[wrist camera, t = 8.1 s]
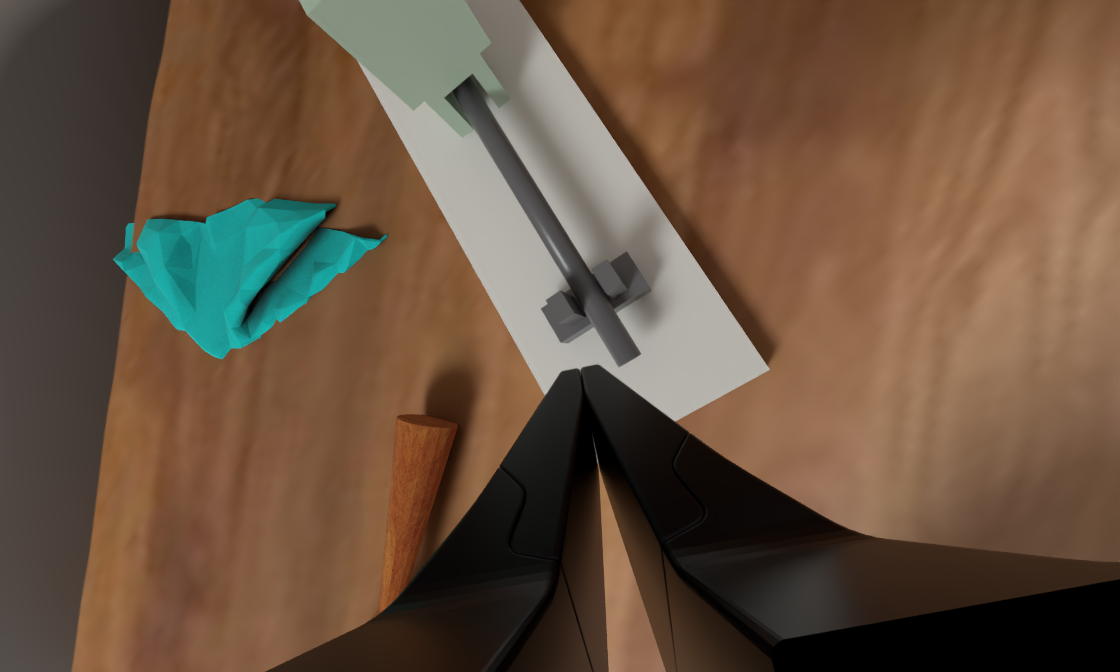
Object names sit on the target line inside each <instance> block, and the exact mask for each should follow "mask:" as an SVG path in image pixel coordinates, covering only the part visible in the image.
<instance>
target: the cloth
mask: <svg viewBox="0 0 1120 672" xmlns="http://www.w3.org/2000/svg"><path fill="white" fill-rule="evenodd" d="M334 207H336V204H327V203H320V204H316V203H306V202H298V201H289V200H281V199H274V200H271V201H269V202H267V203H266V202H264V201H262V200H260V199H250V200H246V201H244V202H242V203H240V204H238V205H236V206H234V207H232V208H230V209H227V210H225V211H222V212H220V213H217V214H215V215H212V216H209V217H207V218H206V223H201V222H192V221H181V220H170V219H148V220H147V222H146V224H145V226H144V228H143V231H142V233H141V235H140V237H139V239H138V242H137V244H136V245H137V247H138V249H139V251H140V253H141V254H140V253H138V252H134V253H131V248H132V238H133V228H134V223H128V225H127V227H126V235H125V249H123V250H122V251H121V252H120V253H119V254H118V255H117V256H116V257H115V258H114V259H113V260H114V261H115V262H116V263H117V264H118V265H119V266H120V267H121V268H122V269H123V270H124V271H125V273H126V274H127V275H128V276H129V277H130V278H131V279H132V280H133V281H134V282H135V283H136V284H137V285H138V286H139V287H140V289H141V290H142V292H143V293H144V295H145V296H146V297H147V298H148V299H149V300H150V301H151V302H152V303H153V304H155V305H156V306H157V307H158V308H159V309H161V310H162V311H163V312H164V314H165V315H166V316H167V318H168V319H169V320H170V322H171V323H172V324H173V325H174V327H175V328H177V329H178V330H185V331H186V332H187V333H188V334H189V335H190V336H191V337H192V338H193V339H194V341H195V342H196V343H197V344H198V345H199V346H200V347H201V348H202V349H203V350H204V351H206V352H207V353H209V354H210V355H212V356H214V357H217V358H220V359H223V358H224V356H225V355H226V354H227V353H228V352H229V350H230V349H231V348H242V347H244V346H246V345H248V344H249V343H251V342H253V341H255V340H256V339H258V338H260V337H261V335H262V334H263V333H264V332H266V331H267V330H268V329H270V328H271V327H272V326H273V324H274V322H275V320H276V319H277V320H278V321H280V322H282V321H283V320H284V319H285V318H287V317H288V316H289V315H290V314H291V313H293V312H294V311H295V310H296V309H298V308H299V307H300V306H302V305H304V304H305V303H307V302H308V300H309V299H310V297H311V296H312V295H314V294H315V293H317V292H319V291H321V290H323V289H324V288H325V287H326V285H327V284H328V283H329V282H330V281H331V280H332V279H333V278H334V277H335V276H336V275H337V274H338V273H344V272H346V271H347V270H348V269H349V268H350V267H351V266H352V265H354V264H355V263H356V262H357V261H358V260H359V259H360V258H361V257H362V256H363V255H364V253H365V252H366V251H367V250H371V249H374V248H376V247H377V246H378V245H379V244H380V243H381V242H382V241H383V240H384V239H385V238H386V237H387V236H388V233H387V234H386V235H385V236H384V237H382V238H381V239H380V240H376V239H368V238H362V237H358V236H355V235H352V234H349V233H346V232H342V231H336V230H331V229H325V228H319V227H318V228H317V230H316V232H315V233H314V235H313V236H312V238H311V239H310V241H309V242H308V243H307V245H306V246H305V248H304V249H303V250H302V251H301V252H300V253H299V255H298V256H297V257H296V258H295V259H294V260H293V261H292V263H291V264H290V265H289V266H288V267H287V268H286V269H285V271H284V272H283V273H282V274H281V275H280V276H279V278H278V279H277V280H276V281H271V282H269V281H270V280H271V279H272V278H273V277H274V276H275V275H276V274H277V273H278V272H279V270H280V269H281V268H282V267H283V265H284V264H285V263H286V261H287V260H288V259H289V258H290V256H291V255H292V254H293V252H294V251H295V250H296V249H297V248H298V247H299V246H300V244H301V243H302V242H303V241H304V240H305V239H306V238H307V237H308V236H309V235H310V234H311V233H312V232H313V230H314V229H315V228H316V227H317V226H318V225H319V224H320V223H321V222H322V221H323V220H324V219H325V213H326V212H327V211H328V210H330V209H332V208H334ZM264 285H265V286H264ZM263 286H264V289H263V291H262V293H261V295H260V298H259V299H258V300H257V302H256V303H255V304H254V305H253V301H254V298H255V296H256V294H257V293H258V291H259V290H260V289H261V288H262V287H263ZM252 305H253V306H252Z"/></svg>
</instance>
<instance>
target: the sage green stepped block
mask: <svg viewBox="0 0 1120 672" xmlns="http://www.w3.org/2000/svg"><path fill="white" fill-rule="evenodd" d="M299 1H300V3H301V5H302V7H303V9H304V10H305V12H306V14H307V16H309V17H310V18H311V19H312V20H313V21H314V22H315V23H316V24H317V25H319V26H320V27H321V28H322V29H323V30H324V31H325V32H326V33H327V34H329V35H330V36H331V37H332V38H333V39H334V40H335V41H336V42H337V43H339V44H340V45H341V46H342V47H343V48H344V49H345V50H346V51H348V52H349V53H350V54H351V55H352V56H353V57H354V58H355V59H356V60H358V61H359V62H360V63H361V64H362V65H363V66H364V67H365V68H366V69H368V70H369V71H370V72H371V73H372V74H373V75H374V76H375V77H376V78H378V79H379V80H380V81H381V82H382V83H383V84H384V85H385V86H387V87H388V88H389V89H390V90H391V91H392V92H393V93H394V94H395V95H397V96H398V97H399V98H400V99H401V100H402V101H403V102H404V103H405V104H407V105H408V106H409V107H410V108H411V109H412V110H413V111H414V110H415V109H416V108H417V107H419V106H420V105H421V104H422V103H423V102H424V101H425V102H426V103H427V104H428V105H429V106H430V107H431V108H432V109H433V110H434V111H435V112H436V113H437V114H438V115H439V116H440V117H441V118H442V119H443V120H444V121H445V122H446V123H447V124H448V125H449V126H450V127H451V128H452V129H453V130H454V131H455V132H456V133H458V134H459V135H460V136H461V137H462V138H463V137H464V136H465V135H467V134H468V133H469V132H470V131H472V130H473V128H472V126H471V124H470V123H469V121H468V119H467V118H466V116H465V115H464V113H463V111H462V110H461V108H460V106H459V105H458V103H457V101H456V100H455V98H454V96H453V95H452V93H451V91H453V90H454V89H455V88H456V87H457V86H458V85H460V84H461V83H462V82H463V81H464V80H465V79H467V78H468V77H469V76H470V75H471V74H472V73H473V75H474V76H475V77H476V79H477V80H478V81H479V83H480V84H481V85H482V87H483V88H484V89H485V91H486V92H487V93H488V95H489V96H490V97H491V99H492V100H493V101H494V103H495V104H496V105H497V107H498V108H500V107H501V106H502V105H503V104H505V103H506V102H507V101H508V100H509V99H510V97H509V96H508V94H507V93H506V91H505V90H504V88H503V86H502V85H501V83H500V82H499V80H498V79H497V77H496V75H495V74H494V72H493V71H492V69H491V68H490V66H489V64H488V63H487V61H486V60H485V58H484V57H483V55H482V53H481V52H482V51H483V50H484V49H486V48H487V47H488V46H489V45H490V44H491V42H490V40H489V38H488V37H487V35H486V34H485V32H484V30H483V29H482V27H481V26H480V24H479V22H478V21H477V19H476V17H475V16H474V14H473V13H472V11H471V9H470V8H469V6H468V5H467V3H466V1H465V0H299Z"/></svg>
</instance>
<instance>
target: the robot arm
mask: <svg viewBox="0 0 1120 672" xmlns="http://www.w3.org/2000/svg"><path fill="white" fill-rule="evenodd" d="M580 371H581V372H580ZM595 450H596V451H595ZM596 455H597V456H596ZM597 460H598V462H597ZM598 464H599V468H600V472H601V475H602V479H603V482H604V485H605V488H606V491H607V494H608V497H609V500H610V503H611V506H612V509H613V512H614V515H615V518H616V521H617V524H618V527H619V530H620V533H621V536H622V539H623V542H624V545H625V548H626V551H627V554H628V557H629V561H630V564H631V567H632V570H633V573H634V576H635V579H636V582H637V585H638V588H639V591H640V594H641V597H642V600H643V603H644V606H645V609H646V612H647V615H648V618H649V621H650V624H651V627H652V630H653V633H654V636H655V639H656V642H657V646H658V649H659V652H660V655H661V658H662V661H663V664H664V667H665V670H666V672H1120V562H1097V561H1085V560H1072V559H1062V558H1053V557H1044V556H1035V555H1026V554H1017V553H1008V552H999V551H990V550H981V549H972V548H963V547H954V546H945V545H936V544H927V543H918V542H909V541H900V540H891V539H883V538H877V537H873V536H869V535H865V534H862V533H859V532H856V531H853V530H850V529H848V528H846V527H844V526H841V525H839V524H837V523H835V522H833V521H831V520H829V519H828V518H826V517H824V516H822V515H820V514H819V513H817V512H815V511H813V510H812V509H810V508H808V507H807V506H805V505H803V504H802V503H800V502H798V501H796V500H795V499H793V498H791V497H790V496H788V495H786V494H784V493H783V492H781V491H779V490H778V489H776V488H774V487H773V486H771V485H769V484H767V483H766V482H764V481H762V480H761V479H759V478H757V477H755V476H754V475H752V474H750V473H749V472H747V471H746V470H744V469H742V468H741V467H739V466H737V465H736V464H734V463H733V462H731V461H729V460H728V459H726V458H725V457H723V456H722V455H720V454H719V453H718V452H716V451H715V450H713V449H712V448H710V447H709V446H708V445H706V444H705V443H703V442H702V441H701V440H699V439H698V438H697V437H695V436H694V435H693V434H689V432H688V431H687V430H686V429H684V428H683V427H682V426H680V425H679V424H678V423H676V422H675V421H674V420H672V419H671V418H670V417H668V416H667V415H666V414H664V413H663V412H662V411H660V410H659V409H658V408H656V407H655V406H654V405H652V404H651V403H650V402H648V401H647V400H646V399H644V398H643V397H642V396H640V395H639V394H638V393H636V392H635V391H634V390H632V389H631V388H630V387H628V386H627V385H626V384H624V383H623V382H622V381H620V380H619V379H618V378H616V377H615V376H614V375H612V374H611V373H610V372H608V371H607V370H606V369H604V368H603V367H602V366H600V365H598V364H596V365H590V366H585V367H582V368H581V370H579V369H578V368H575V369H569V370H564V371H561V372H560V373H559V375H558V376H557V378H556V380H555V381H554V383H553V384H552V386H551V387H550V389H549V390H548V392H547V393H546V395H545V397H544V398H543V400H542V401H541V403H540V404H539V406H538V407H537V409H536V410H535V412H534V414H533V415H532V417H531V418H530V420H529V421H528V423H527V424H526V426H525V427H524V429H523V431H522V432H521V434H520V435H519V437H518V438H517V440H516V441H515V443H514V444H513V446H512V447H511V449H510V451H509V452H508V454H507V455H506V457H505V458H504V460H503V461H502V463H501V464H500V468H498V469H497V470H496V472H495V473H494V475H493V477H492V478H491V480H490V481H489V483H488V484H487V485H486V487H485V488H484V490H483V491H482V493H481V494H480V496H479V497H478V498H477V500H476V501H475V503H474V504H473V505H472V507H471V508H470V509H469V510H468V512H467V513H466V514H465V516H464V517H463V518H462V519H461V521H460V522H459V523H458V525H457V526H456V527H455V528H454V530H453V531H452V532H451V533H450V534H449V536H448V537H447V538H446V539H445V541H444V542H443V543H442V544H441V545H440V547H439V548H438V549H437V550H436V552H435V553H434V554H433V555H432V556H431V558H430V559H429V560H428V561H427V563H426V564H425V565H424V566H423V567H422V569H421V570H420V571H419V572H418V573H417V575H416V576H415V577H414V578H413V580H412V581H411V582H410V583H409V584H408V586H407V587H406V588H405V589H404V590H403V591H402V593H401V594H400V595H399V596H398V597H397V598H396V599H395V600H394V601H393V602H392V603H391V604H390V605H389V606H388V607H387V608H386V609H384V610H383V611H382V612H381V613H380V614H378V615H377V616H376V617H374V618H373V619H371V620H370V621H368V622H367V623H365V624H363V625H361V626H360V627H358V628H356V629H354V630H352V631H349V632H347V633H345V634H343V635H341V636H339V637H337V638H335V639H333V640H331V641H329V642H326V643H324V644H322V645H320V646H318V647H316V648H314V649H312V650H310V651H308V652H305V653H303V654H301V655H299V656H297V657H295V658H293V659H291V660H289V661H287V662H285V663H282V664H280V665H278V666H276V667H274V668H272V669H270V670H268V671H266V672H609V671H608V650H607V629H606V609H605V588H604V567H603V547H602V526H601V505H600V485H599V470H598Z"/></svg>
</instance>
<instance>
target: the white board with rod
mask: <svg viewBox="0 0 1120 672" xmlns="http://www.w3.org/2000/svg"><path fill="white" fill-rule="evenodd" d="M465 1H466V3H467V5H468V6H469V8H470V9H471V11H472V13H473V14H474V16H475V17H476V19H477V21H478V22H479V24H480V26H481V27H482V29H483V30H484V32H485V34H486V35H487V37H488V38H489V40H490V42H491V44H490V45H489V46H488V47H487V48H486V49H484V50H483V51H482V52H481V53H482V55H483V57H484V58H485V60H486V61H487V63H488V64H489V66H490V68H491V69H492V71H493V72H494V74H495V75H496V77H497V79H498V80H499V82H500V83H501V85H502V86H503V88H504V90H505V91H506V93H507V94H508V96H509V97H510V99H509V100H508V101H507V102H506V103H505V104H503V105H502V106H501V107H500V108H498V107H497V105H496V104H495V103H494V101H493V100H492V99H491V97H490V96H489V95H488V93H487V92H486V91H485V89H484V88H483V87H482V85H481V84H480V83H479V81H478V80H477V79H476V77H475V76H474V75H473V73H472V74H471V75H470V76H469V77H468V78H467V79H465V80H464V81H463V82H462V83H461V84H460V85H458V86H457V87H456V88H455V89H454V90H453V91H451V93H452V95H453V96H454V98H455V100H456V101H457V103H458V105H459V106H460V108H461V110H462V111H463V113H464V115H465V116H466V118H467V119H468V121H469V123H470V124H471V126H472V128H473V130H472V131H470V132H469V133H468V134H467V135H465V136H464V137H463V138H462V137H461V136H460V135H459V134H458V133H456V132H455V131H454V130H453V129H452V128H451V127H450V126H449V125H448V124H447V123H446V122H445V121H444V120H443V119H442V118H441V117H440V116H439V115H438V114H437V113H436V112H435V111H434V110H433V109H432V108H431V107H430V106H429V105H428V104H427V103H426V102H425V101H424V102H423V103H422V104H421V105H420V106H419V107H417V108H416V109H415V110H414V111H413V110H412V109H411V108H410V107H409V106H408V105H407V104H405V103H404V102H403V101H402V100H401V99H400V98H399V97H398V96H397V95H395V94H394V93H393V92H392V91H391V90H390V89H389V88H388V87H387V86H385V85H384V84H383V83H382V82H381V81H380V80H379V79H378V78H376V77H375V76H374V75H373V74H372V73H371V72H370V71H369V70H368V69H366V68H365V67H364V66H363V65H362V64H361V63H360V62H359V61H358V60H357V61H358V63H359V65H360V66H361V68H362V70H363V72H364V74H365V75H366V77H367V79H368V81H369V82H370V84H371V86H372V88H373V90H374V91H375V93H376V95H377V97H378V98H379V100H380V102H381V104H382V106H383V107H384V109H385V111H386V113H387V115H388V116H389V118H390V120H391V122H392V123H393V125H394V127H395V129H396V131H397V132H398V134H399V136H400V138H401V140H402V141H403V143H404V145H405V147H406V148H407V150H408V152H409V154H410V156H411V157H412V159H413V161H414V163H415V165H416V166H417V168H418V170H419V172H420V173H421V175H422V177H423V179H424V181H425V182H426V184H427V186H428V188H429V189H430V191H431V193H432V195H433V197H434V198H435V200H436V202H437V204H438V206H439V207H440V209H441V211H442V213H443V214H444V216H445V218H446V220H447V222H448V223H449V225H450V227H451V229H452V231H453V232H454V234H455V236H456V238H457V239H458V241H459V243H460V245H461V247H462V248H463V250H464V252H465V254H466V255H467V257H468V259H469V261H470V263H471V264H472V266H473V268H474V270H475V272H476V273H477V275H478V277H479V279H480V280H481V282H482V284H483V286H484V288H485V289H486V291H487V293H488V295H489V297H490V298H491V300H492V302H493V304H494V305H495V307H496V309H497V311H498V313H499V314H500V316H501V318H502V320H503V321H504V323H505V325H506V327H507V329H508V330H509V332H510V334H511V336H512V338H513V339H514V341H515V343H516V345H517V346H518V348H519V350H520V352H521V354H522V355H523V357H524V359H525V361H526V363H527V364H528V366H529V368H530V370H531V371H532V373H533V375H534V377H535V379H536V380H537V382H538V384H539V386H540V387H541V389H542V391H543V393H544V395H546V393H547V392H548V390H549V389H550V387H551V386H552V384H553V383H554V381H555V380H556V378H557V376H558V375H559V373H560V372H561V371H564V370H569V369H575V368H578V369H579V370H581V368H582V367H585V366H590V365H596V364H598V365H600V366H602V367H603V368H604V369H606V370H607V371H608V372H610V373H611V374H612V375H614V376H615V377H616V378H618V379H619V380H620V381H622V382H623V383H624V384H626V385H627V386H628V387H630V388H631V389H632V390H634V391H635V392H636V393H638V394H639V395H640V396H642V397H643V398H644V399H646V400H647V401H648V402H650V403H651V404H652V405H654V406H655V407H656V408H658V409H659V410H660V411H662V412H663V413H664V414H666V415H667V416H668V417H670V418H671V419H672V420H674V421H677V420H679V419H681V418H682V417H684V416H686V415H688V414H690V413H692V412H693V411H695V410H697V409H699V408H701V407H703V406H704V405H706V404H708V403H710V402H712V401H713V400H715V399H717V398H719V397H721V396H723V395H724V394H726V393H728V392H730V391H732V390H734V389H735V388H737V387H739V386H741V385H743V384H745V383H746V382H748V381H750V380H752V379H754V378H756V377H757V376H759V375H761V374H763V373H765V372H767V371H768V370H770V369H769V368H768V366H767V365H766V363H765V362H764V360H763V359H762V357H761V356H760V354H759V353H758V352H757V350H756V349H755V347H754V346H753V344H752V343H751V341H750V340H749V338H748V337H747V335H746V334H745V332H744V331H743V329H742V328H741V326H740V325H739V323H738V322H737V321H736V319H735V318H734V316H733V315H732V313H731V312H730V310H729V309H728V307H727V306H726V304H725V303H724V301H723V300H722V298H721V297H720V295H719V294H718V293H717V291H716V290H715V288H714V287H713V285H712V284H711V282H710V281H709V279H708V278H707V276H706V275H705V273H704V272H703V270H702V269H701V267H700V266H699V264H698V263H697V262H696V260H695V259H694V257H693V256H692V254H691V253H690V251H689V250H688V248H687V247H686V245H685V244H684V242H683V241H682V239H681V238H680V236H679V235H678V234H677V232H676V231H675V229H674V228H673V226H672V225H671V223H670V222H669V220H668V219H667V217H666V216H665V214H664V213H663V211H662V210H661V208H660V207H659V205H658V204H657V203H656V201H655V200H654V198H653V197H652V195H651V194H650V192H649V191H648V189H647V188H646V186H645V185H644V183H643V182H642V180H641V179H640V177H639V176H638V175H637V173H636V172H635V170H634V169H633V167H632V166H631V164H630V163H629V161H628V160H627V158H626V157H625V155H624V154H623V152H622V151H621V149H620V148H619V146H618V145H617V144H616V142H615V141H614V139H613V138H612V136H611V135H610V133H609V132H608V130H607V129H606V127H605V126H604V124H603V123H602V121H601V120H600V118H599V117H598V116H597V114H596V113H595V111H594V110H593V108H592V107H591V105H590V104H589V102H588V101H587V99H586V98H585V96H584V95H583V93H582V92H581V90H580V89H579V87H578V86H577V85H576V83H575V82H574V80H573V79H572V77H571V76H570V74H569V73H568V71H567V70H566V68H565V67H564V65H563V64H562V62H561V61H560V59H559V58H558V57H557V55H556V54H555V52H554V51H553V49H552V48H551V46H550V45H549V43H548V42H547V40H546V39H545V37H544V36H543V34H542V33H541V31H540V30H539V28H538V27H537V26H536V24H535V23H534V21H533V20H532V18H531V17H530V15H529V14H528V12H527V11H526V9H525V8H524V6H523V5H522V3H521V2H520V0H465ZM580 372H581V371H580ZM595 451H596V450H595ZM596 456H597V455H596ZM597 462H598V460H597Z"/></svg>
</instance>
